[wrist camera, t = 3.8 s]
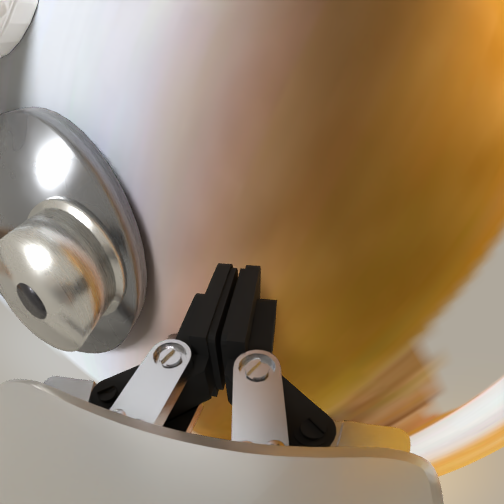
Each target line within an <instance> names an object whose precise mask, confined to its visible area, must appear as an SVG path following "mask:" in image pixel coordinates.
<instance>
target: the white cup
mask: <svg viewBox="0 0 504 504" xmlns="http://www.w3.org/2000/svg"><path fill="white" fill-rule="evenodd" d="M37 4H38V0H0V57H3V56H5V55H7V54H9V53H10V52H11V51H12V50H13V48H14V47H15V46H16V45H17V44H18V43H19V42H20V40H21V38H22V37H23V35H24V33H25V31H26V30H27V28H28V26H29V25H30V23H31V20H32V17H33V15H34V12H35V10H36V7H37Z"/></svg>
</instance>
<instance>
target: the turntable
mask: <svg viewBox="0 0 504 504" xmlns="http://www.w3.org/2000/svg"><path fill="white" fill-rule="evenodd" d="M54 196H62V197H67V198H70V199H73V200H75V201H77V202H79V203H81V204H82V205H84V206H85V207H86V208H88V209H89V210H90V211H91V212H93V213H94V214H95V215H96V216H97V217H98V218H99V219H100V220H101V222H102V223H103V224H104V225H105V226H106V228H107V229H108V230H109V232H110V233H111V235H112V236H113V238H114V240H115V242H116V243H117V245H118V247H119V250H120V252H121V254H122V257H123V260H124V263H125V267H126V271H127V290H126V294H125V296H124V298H123V300H122V301H121V303H120V304H119V306H118V307H117V308H116V309H115V310H114V311H113V312H112V313H110V314H108V315H105V316H102V317H101V319H100V320H99V321H98V323H97V324H96V326H95V327H94V329H93V330H92V332H91V333H90V334H89V336H88V337H87V339H86V340H85V342H84V343H83V345H82V346H81V348H80V349H79V350H76V351H79V352H85V353H102V352H107V351H110V350H112V349H114V348H116V347H117V346H119V345H120V344H121V343H122V342H123V341H124V339H125V338H126V337H127V335H128V334H129V332H130V330H131V329H132V327H133V325H134V323H135V322H136V320H137V318H138V316H139V314H140V312H141V310H142V308H143V304H144V301H145V297H146V287H147V272H146V261H145V255H144V248H143V244H142V240H141V237H140V233H139V229H138V225H137V223H136V220H135V217H134V215H133V212H132V209H131V206H130V204H129V202H128V200H127V197H126V195H125V193H124V191H123V189H122V187H121V184H120V183H119V181H118V179H117V177H116V176H115V174H114V172H113V171H112V169H111V167H110V165H109V164H108V162H107V161H106V159H105V158H104V157H103V155H102V154H101V152H100V151H99V150H98V148H97V147H96V146H95V145H94V143H93V142H92V141H91V140H90V139H89V138H88V137H87V136H86V134H85V133H84V132H83V131H82V130H80V129H79V128H78V127H77V126H76V125H75V124H73V123H72V122H71V121H70V120H68V119H67V118H65V117H63V116H62V115H60V114H58V113H56V112H54V111H51V110H48V109H45V108H39V107H27V108H21V109H17V110H13V111H9V112H6V113H2V114H0V239H1V238H3V237H4V236H5V235H7V234H8V233H9V232H11V231H12V230H13V229H15V228H16V227H18V226H19V225H20V224H22V223H23V222H25V221H26V220H27V219H28V216H29V214H30V212H31V210H32V209H33V208H34V207H35V206H36V205H37V204H39V203H40V202H42V201H44V200H45V199H47V198H50V197H54ZM0 294H1V295H2V293H1V291H0ZM2 296H3V295H2ZM3 298H4V297H3ZM4 299H5V298H4Z"/></svg>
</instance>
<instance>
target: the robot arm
mask: <svg viewBox="0 0 504 504" xmlns="http://www.w3.org/2000/svg"><path fill="white" fill-rule="evenodd" d="M260 276H261V268H260V266H251V265H246V268H245V269H242V268H241V270H240V273H239V276H238V270H237V268H233V265H232V264H221V263H219V264H218V265H217V267H216V269H215V272H214V274H213V277H212V279H211V281H210V284H209V286H208V288H207V291H206V293H205V294H199V293H197V294H196V295H195V296H194V299H193V301H192V303H191V305H190V307H189V310H188V312H187V314H186V316H185V318H184V321H183V323H182V325H181V327H180V330H179V332H178V334H177V336H176V339H168V340H164V341H161V342H159V343H157V344H156V345H155V346H154V347H153V348H152V349H151V350H150V352H149V353H148V354H147V356H146V357H145V359H144V360H143V362H142V363H141V364H140V365H138V366H136V367H133V368H131V369H129V370H126V371H124V372H122V373H119V374H117V375H115V376H112V377H110V378H107V379H105V380H103V381H101V382H99V383H98V384H96V383H95V382H94V381H91V380H82V379H74V378H67V377H60V376H52V377H50V378H48V379H47V380H46V381H45V382H44V383H40V382H37V381H32V380H24V379H14V380H9V381H6V382H3V383H2V384H1V385H0V504H444V503H443V496H442V490H441V485H440V482H439V478H438V475H437V473H436V471H435V469H434V467H433V466H432V465H431V463H430V462H429V461H427V460H426V459H424V458H422V457H420V456H418V455H415V454H413V453H410V438H409V436H408V435H407V433H406V432H405V431H403V430H402V429H399V428H396V427H387V426H379V425H372V424H365V423H358V422H352V421H347V420H344V422H339V421H334V420H332V419H331V418H330V417H329V416H328V415H327V414H326V413H325V412H324V411H322V410H321V409H320V408H319V407H318V406H316V405H315V404H314V403H313V402H312V401H311V400H309V399H308V398H307V397H306V396H305V395H304V394H302V393H301V392H300V391H299V390H298V389H297V388H296V387H295V386H293V385H292V384H291V383H290V382H289V381H288V380H287V379H286V378H284V377H283V376H282V374H281V366H280V363H279V360H278V359H277V358H276V357H275V356H274V355H273V354H272V351H273V342H274V332H275V320H276V305H277V300H268V299H260ZM225 382H226V389H227V396H228V401H229V402H230V404H231V405H232V440H225V439H219V438H213V437H207V436H202V435H197V434H192V433H191V432H192V430H193V428H194V426H195V424H196V422H197V420H198V418H199V416H200V414H201V411H202V409H203V407H204V402H205V401H207V400H209V399H211V396H216V397H217V394H218V391H219V389H220V390H223V389H224V386H225Z"/></svg>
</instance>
